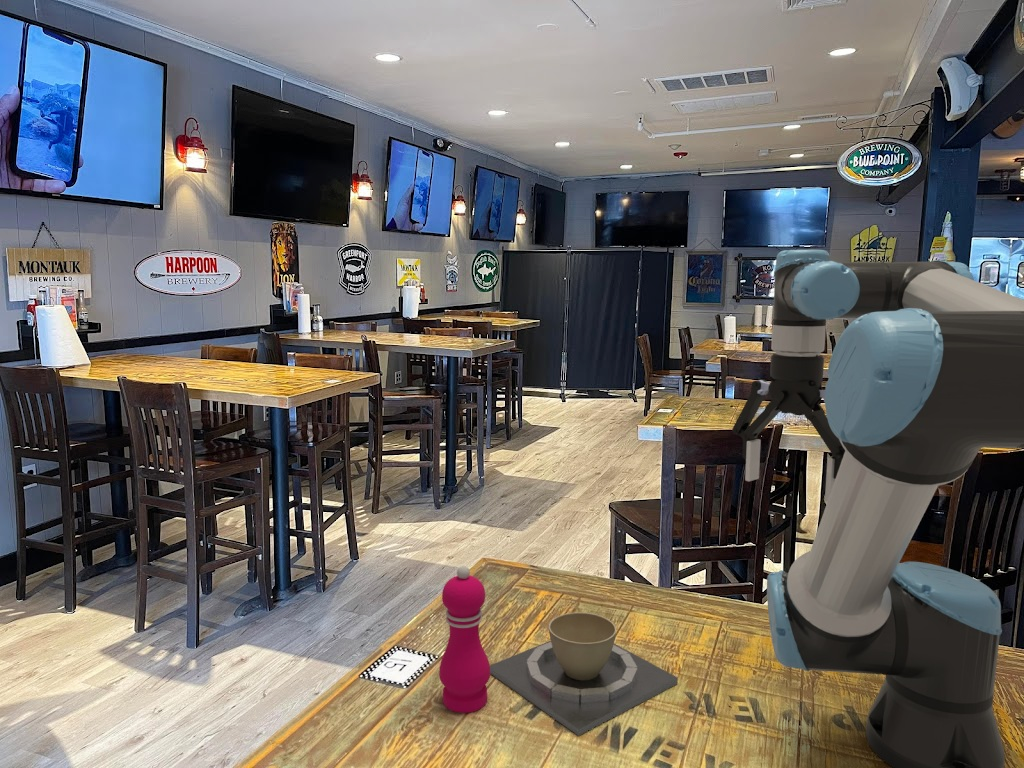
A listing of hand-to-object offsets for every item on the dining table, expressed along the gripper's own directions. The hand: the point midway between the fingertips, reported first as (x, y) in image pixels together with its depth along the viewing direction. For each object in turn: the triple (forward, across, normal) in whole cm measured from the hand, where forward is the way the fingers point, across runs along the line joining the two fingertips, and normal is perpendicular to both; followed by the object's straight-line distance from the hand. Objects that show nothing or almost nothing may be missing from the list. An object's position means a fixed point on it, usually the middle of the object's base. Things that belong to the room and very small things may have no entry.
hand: (790, 489), depth 114 cm
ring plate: (+27, +14, +31) cm, 43 cm away
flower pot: (+26, +14, +31) cm, 43 cm away
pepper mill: (+27, +20, +48) cm, 59 cm away
